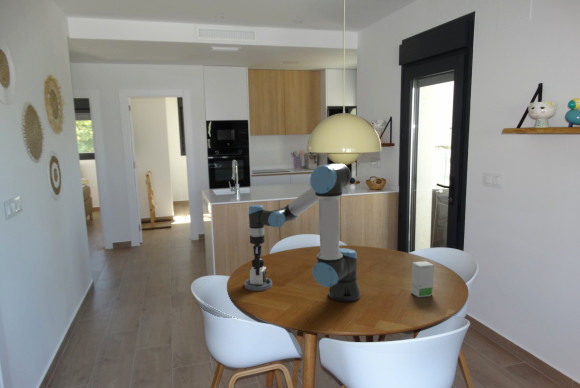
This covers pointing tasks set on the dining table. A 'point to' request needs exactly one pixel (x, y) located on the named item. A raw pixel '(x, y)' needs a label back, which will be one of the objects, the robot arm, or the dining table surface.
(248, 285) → the dish
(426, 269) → the skincare box
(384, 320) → the dining table surface
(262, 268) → the medicine bottle
